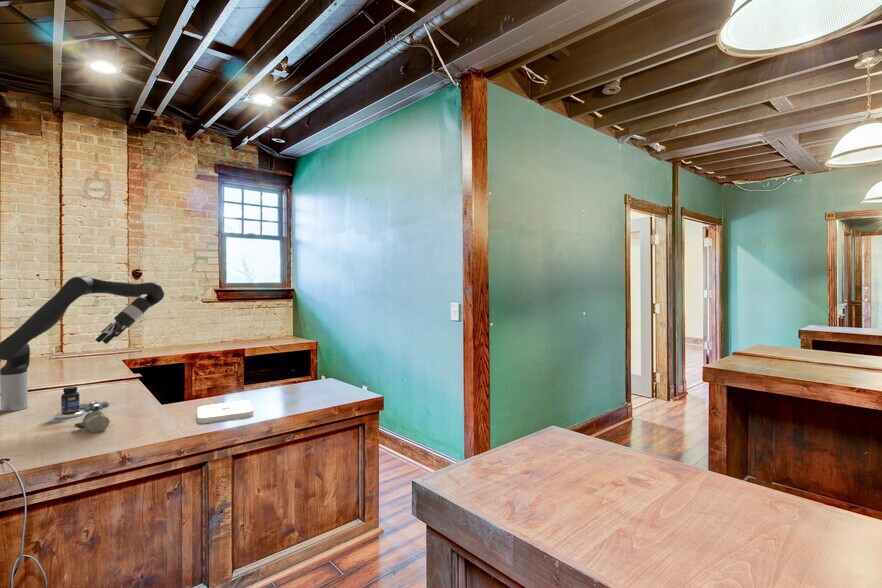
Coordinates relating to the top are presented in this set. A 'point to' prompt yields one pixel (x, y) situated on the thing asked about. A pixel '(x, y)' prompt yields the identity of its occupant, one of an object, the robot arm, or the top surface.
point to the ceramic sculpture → (94, 421)
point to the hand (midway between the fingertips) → (100, 342)
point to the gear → (93, 406)
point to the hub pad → (69, 415)
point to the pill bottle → (70, 401)
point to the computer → (224, 411)
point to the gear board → (73, 418)
